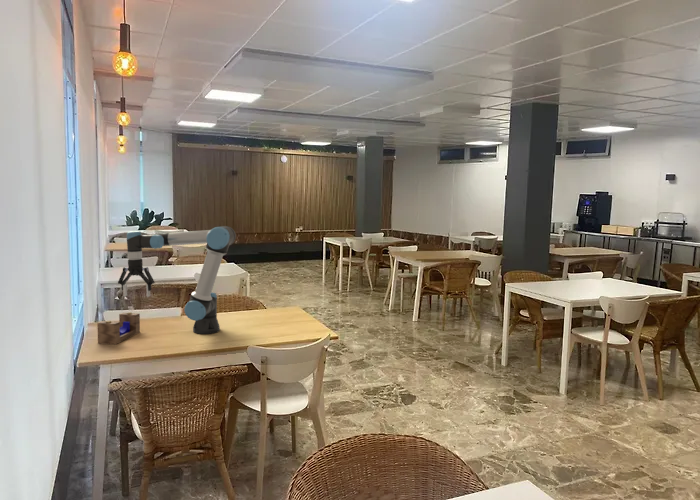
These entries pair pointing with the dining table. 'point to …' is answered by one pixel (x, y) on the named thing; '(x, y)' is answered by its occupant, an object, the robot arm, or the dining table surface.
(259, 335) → the dining table surface
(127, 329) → the cable clip
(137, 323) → the wooden crate
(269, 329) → the dining table surface
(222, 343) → the dining table surface
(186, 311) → the robot arm
